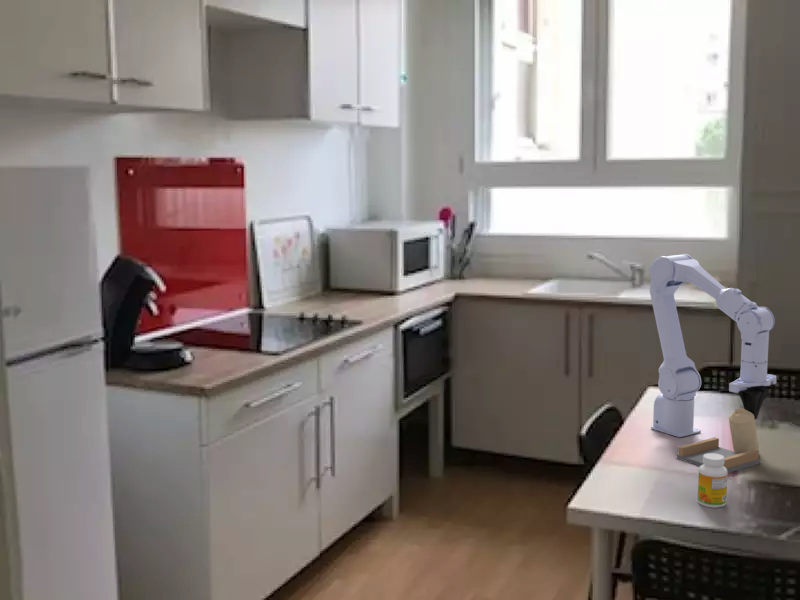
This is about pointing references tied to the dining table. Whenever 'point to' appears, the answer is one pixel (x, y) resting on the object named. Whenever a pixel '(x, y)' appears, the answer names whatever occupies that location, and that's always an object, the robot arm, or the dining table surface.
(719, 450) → the tray
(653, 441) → the dining table surface
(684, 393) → the robot arm
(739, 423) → the candle
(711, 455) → the supplement bottle
